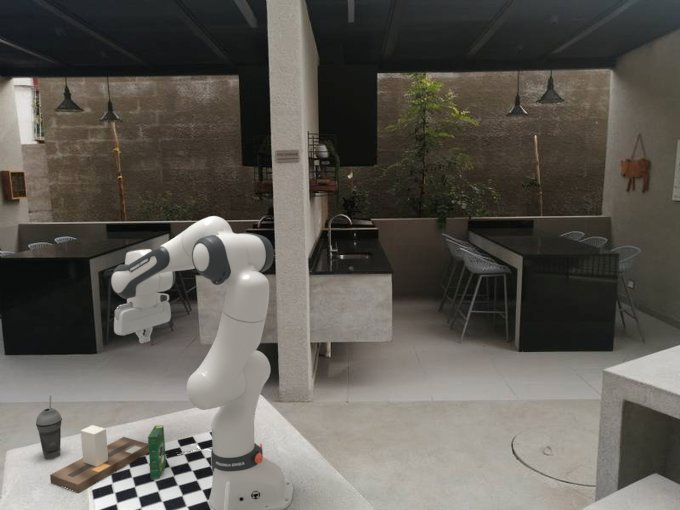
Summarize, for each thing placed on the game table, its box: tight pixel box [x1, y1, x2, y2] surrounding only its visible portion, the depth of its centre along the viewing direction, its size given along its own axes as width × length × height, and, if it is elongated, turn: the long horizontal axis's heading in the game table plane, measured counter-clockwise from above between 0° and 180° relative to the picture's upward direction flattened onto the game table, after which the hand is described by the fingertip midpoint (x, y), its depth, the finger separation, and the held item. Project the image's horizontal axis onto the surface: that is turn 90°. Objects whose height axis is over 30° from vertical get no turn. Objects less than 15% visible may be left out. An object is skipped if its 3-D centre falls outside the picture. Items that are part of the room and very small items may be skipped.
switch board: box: [49, 436, 149, 493], centre depth 162 cm, size 26×12×3 cm, turn 153°
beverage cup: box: [35, 395, 63, 461], centre depth 168 cm, size 7×7×20 cm
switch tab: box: [80, 424, 108, 467], centre depth 159 cm, size 4×6×10 cm, turn 63°
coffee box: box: [147, 424, 167, 481], centre depth 158 cm, size 8×3×13 cm, turn 4°
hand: (144, 342), depth 170 cm, fingers closed
